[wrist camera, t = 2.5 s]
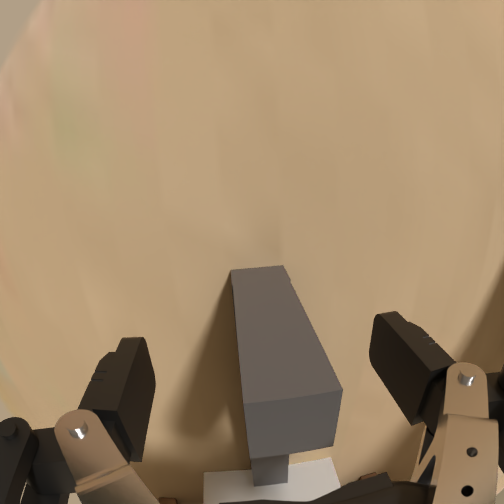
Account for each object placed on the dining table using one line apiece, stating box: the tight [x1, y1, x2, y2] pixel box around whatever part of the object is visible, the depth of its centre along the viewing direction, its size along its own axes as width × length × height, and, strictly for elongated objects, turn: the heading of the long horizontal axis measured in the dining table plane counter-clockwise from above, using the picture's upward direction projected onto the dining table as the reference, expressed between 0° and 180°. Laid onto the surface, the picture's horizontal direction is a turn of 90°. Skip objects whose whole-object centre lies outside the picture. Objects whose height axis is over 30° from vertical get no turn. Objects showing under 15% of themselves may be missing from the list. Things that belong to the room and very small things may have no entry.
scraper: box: [203, 265, 343, 504], centre depth 14 cm, size 10×18×9 cm, turn 4°
